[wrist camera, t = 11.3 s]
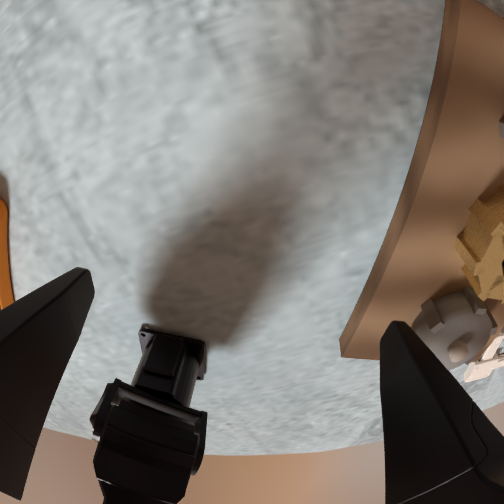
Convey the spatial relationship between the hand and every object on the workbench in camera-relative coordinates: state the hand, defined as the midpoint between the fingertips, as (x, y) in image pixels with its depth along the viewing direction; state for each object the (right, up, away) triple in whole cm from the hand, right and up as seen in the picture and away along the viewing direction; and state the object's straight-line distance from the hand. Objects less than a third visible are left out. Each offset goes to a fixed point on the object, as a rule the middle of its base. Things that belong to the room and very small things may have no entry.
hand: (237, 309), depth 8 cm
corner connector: (+30, -10, +19) cm, 36 cm away
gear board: (+18, +4, +10) cm, 21 cm away
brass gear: (+18, +3, +8) cm, 20 cm away
